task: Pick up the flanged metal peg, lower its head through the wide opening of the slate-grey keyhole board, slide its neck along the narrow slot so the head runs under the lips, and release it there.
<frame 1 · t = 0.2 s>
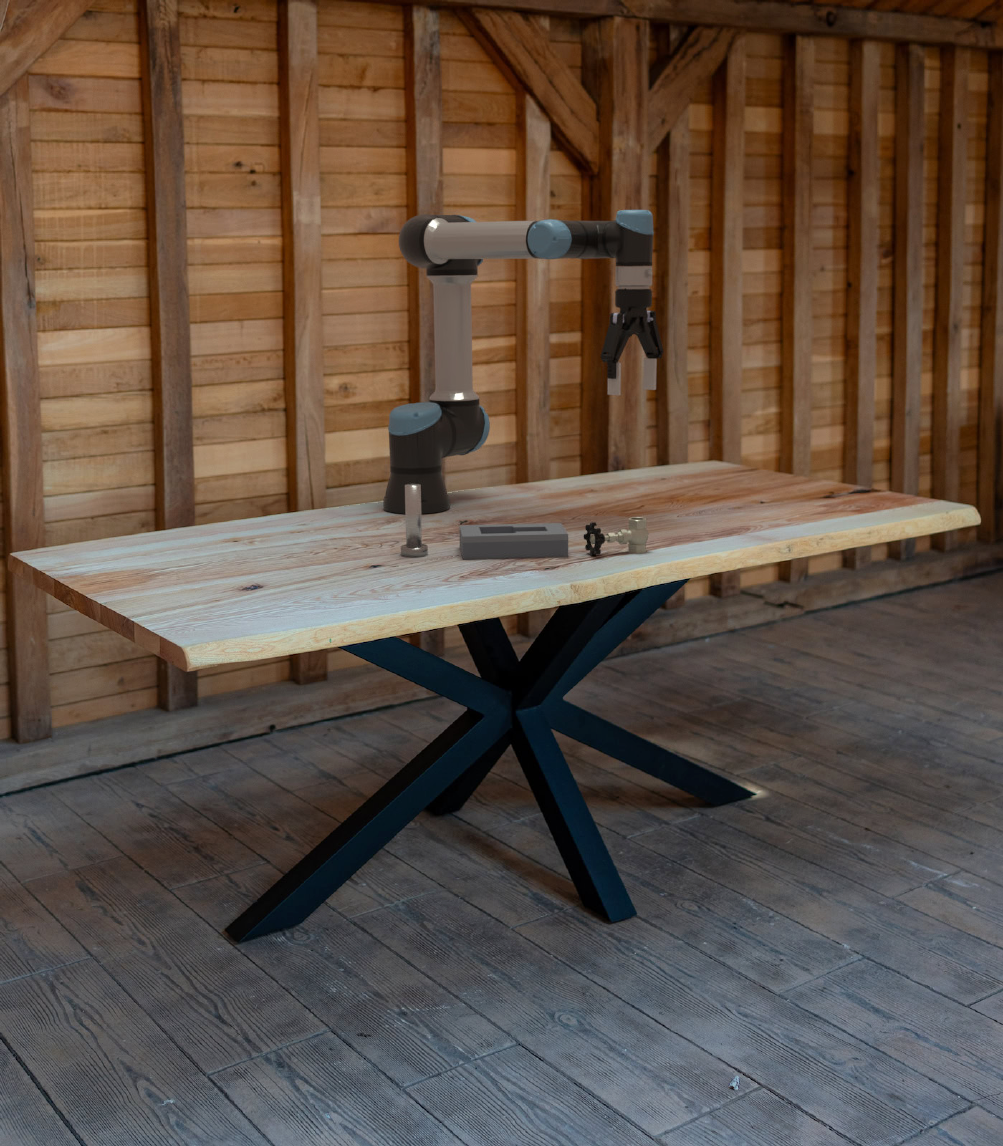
hand: (632, 392, 281), 28 cm above the table, fingers open, 13 cm apart
valve: (618, 554, 259), on the table
keyhole board: (513, 551, 261), on the table
flanged metal peg: (414, 554, 259), on the table
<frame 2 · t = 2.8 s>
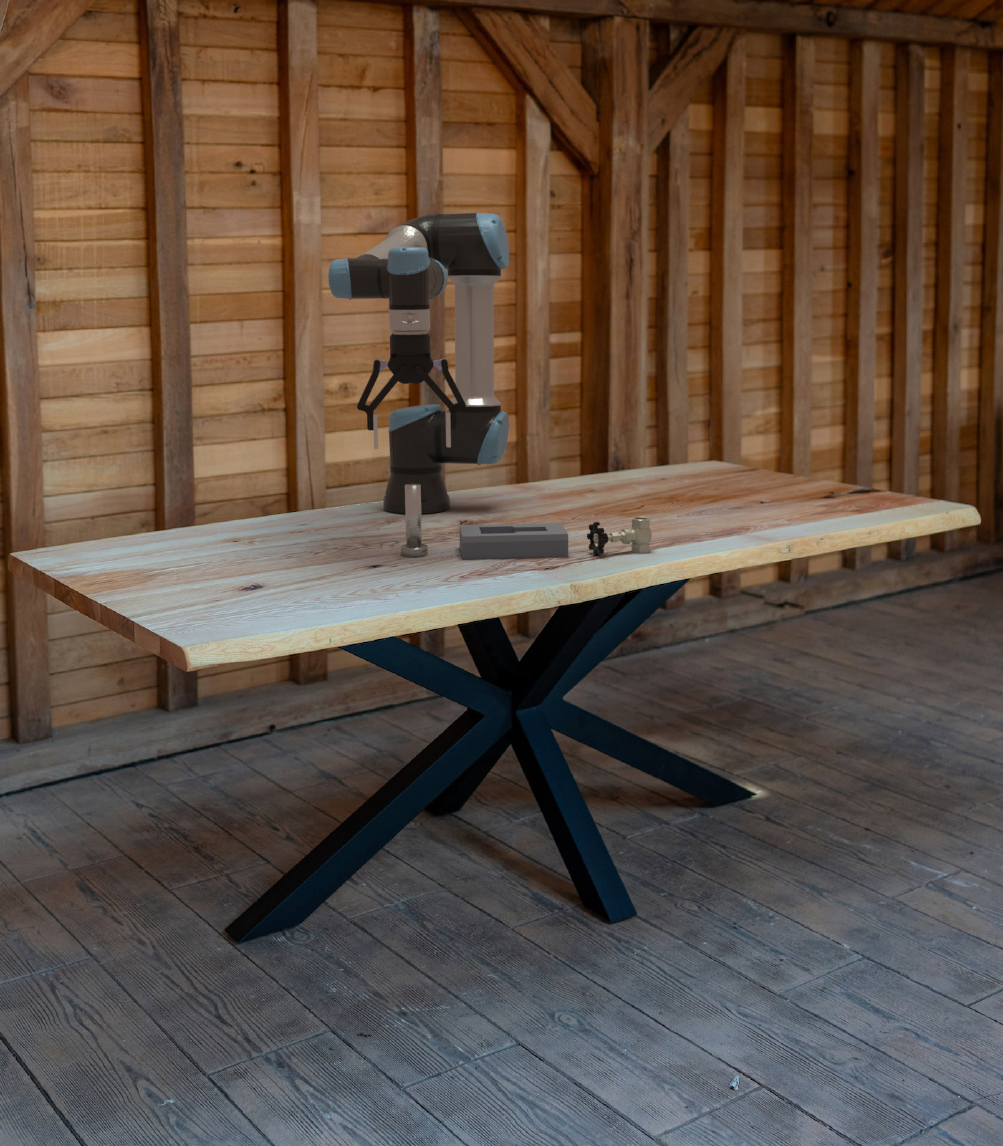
hand: (412, 447, 254), 21 cm above the table, fingers open, 13 cm apart
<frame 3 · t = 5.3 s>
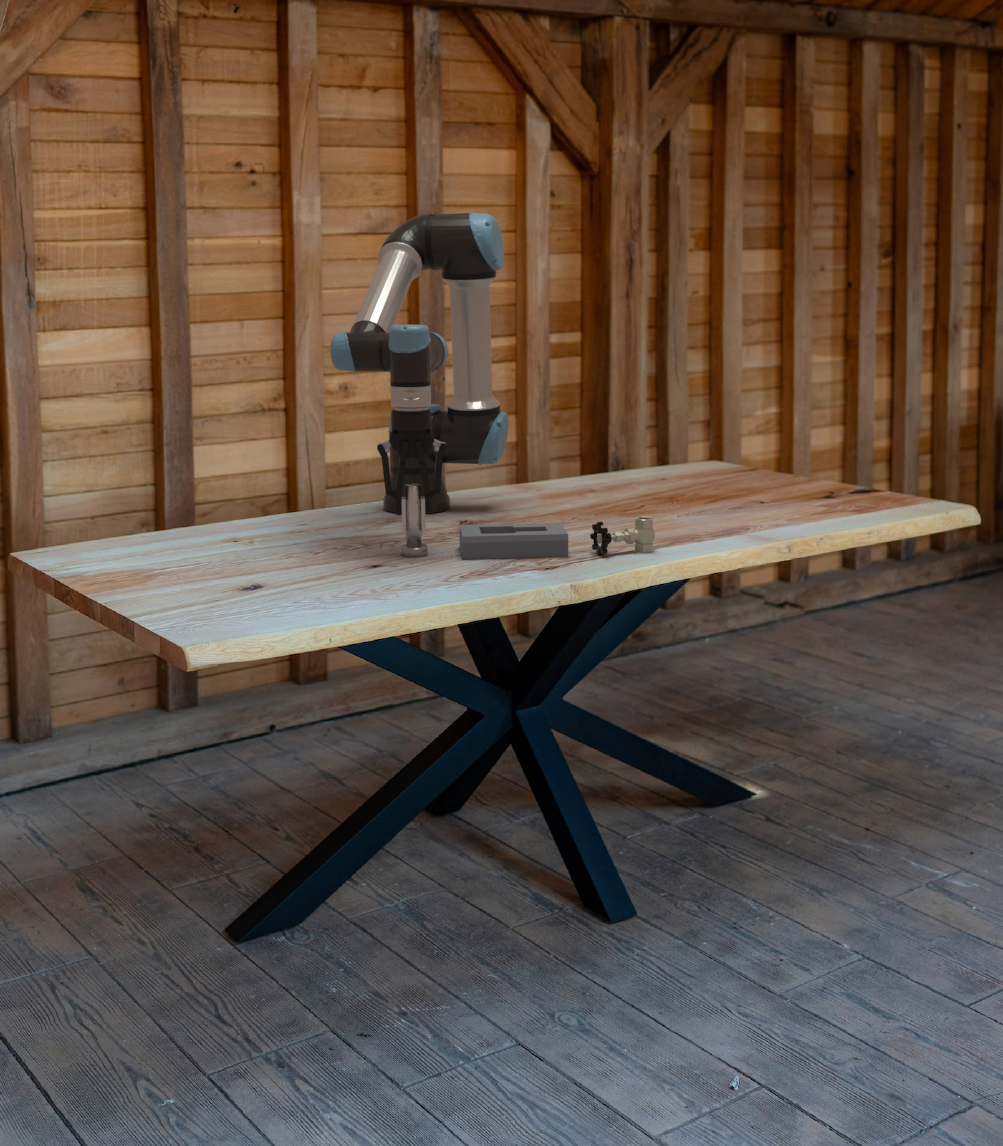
hand: (413, 531, 258), 5 cm above the table, fingers closed on flanged metal peg, 3 cm apart
flanged metal peg: (414, 554, 259), on the table, touching gripper
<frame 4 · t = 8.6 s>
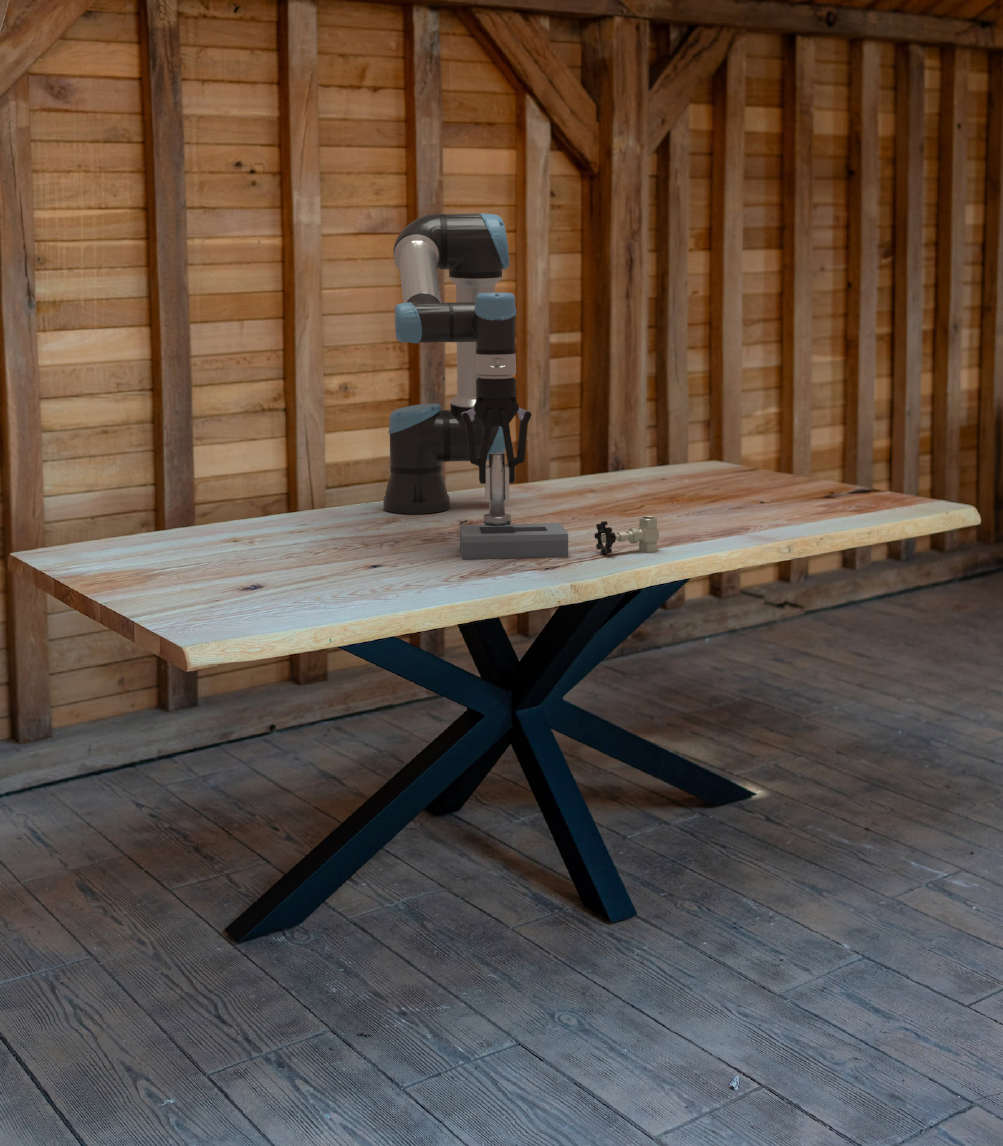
hand: (497, 500, 258), 10 cm above the table, fingers closed on flanged metal peg, 3 cm apart
flanged metal peg: (497, 523, 259), point 6 cm above the table, touching gripper
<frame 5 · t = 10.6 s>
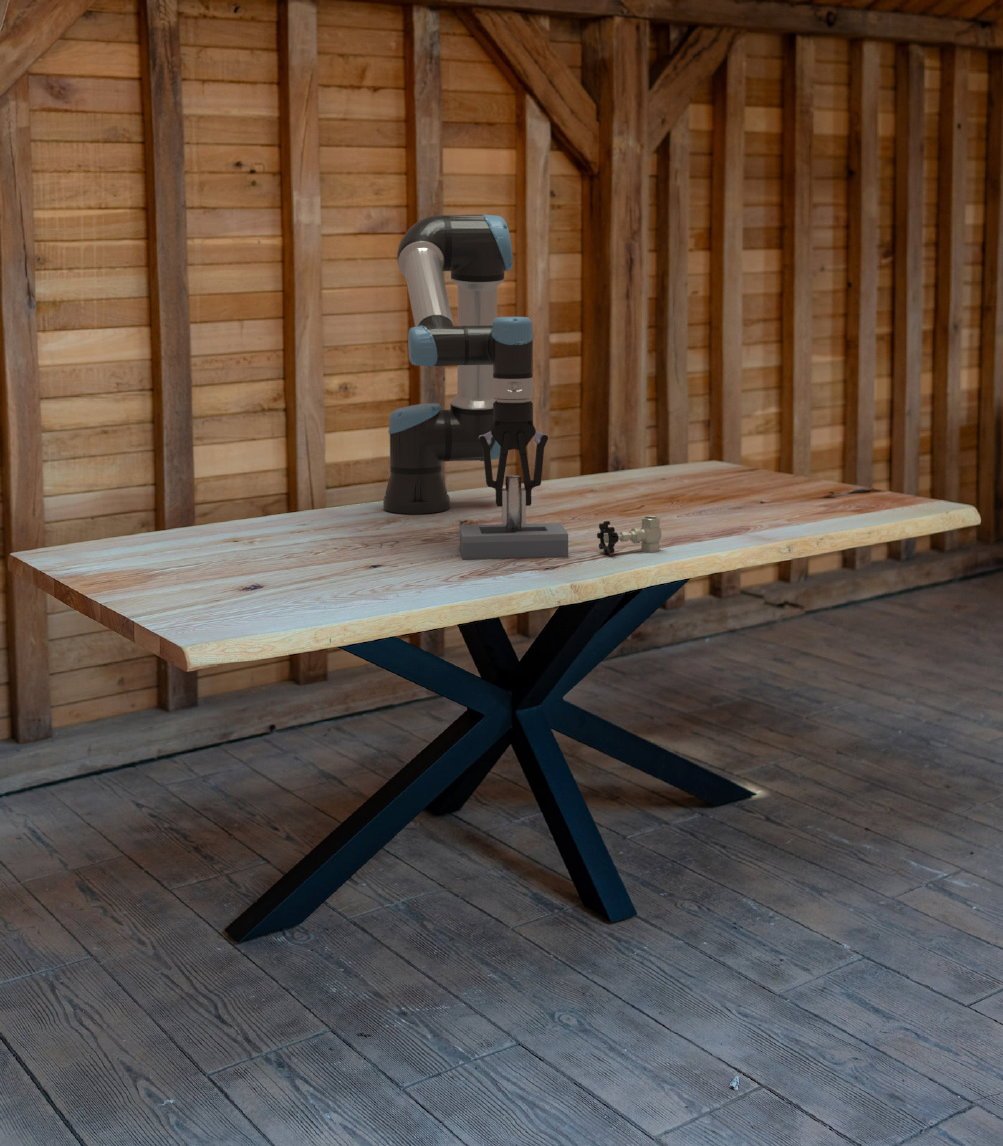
hand: (513, 522, 259), 6 cm above the table, fingers closed on flanged metal peg, 3 cm apart
flanged metal peg: (513, 545, 260), point 1 cm above the table, touching gripper
when the fingers open (6 cm above the table, at t = 12.2 s): flanged metal peg stays where it is, resting on keyhole board.
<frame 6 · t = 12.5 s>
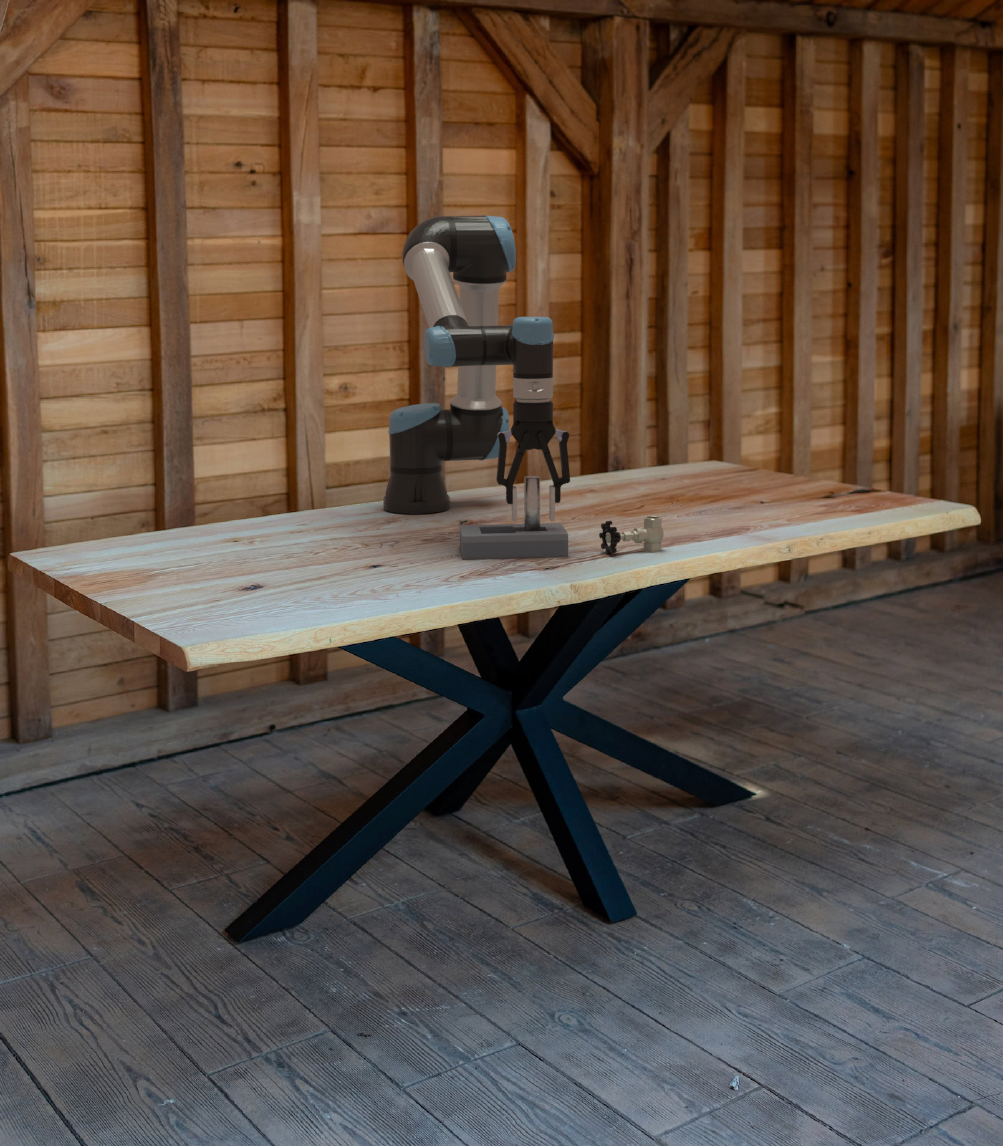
hand: (533, 520, 260), 6 cm above the table, fingers open, 7 cm apart
flanged metal peg: (532, 546, 261), point 1 cm above the table, touching keyhole board
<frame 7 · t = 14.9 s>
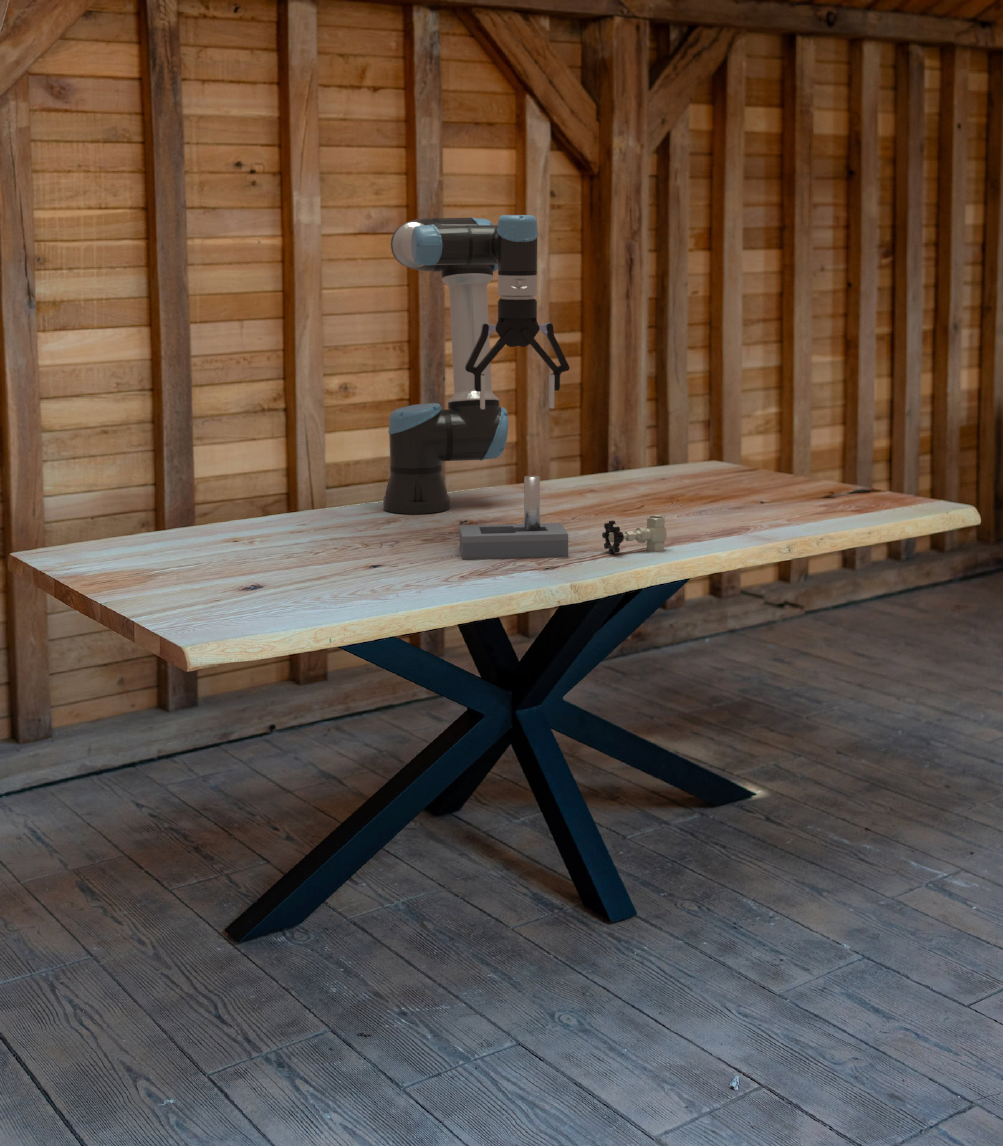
hand: (517, 408, 265), 27 cm above the table, fingers open, 13 cm apart
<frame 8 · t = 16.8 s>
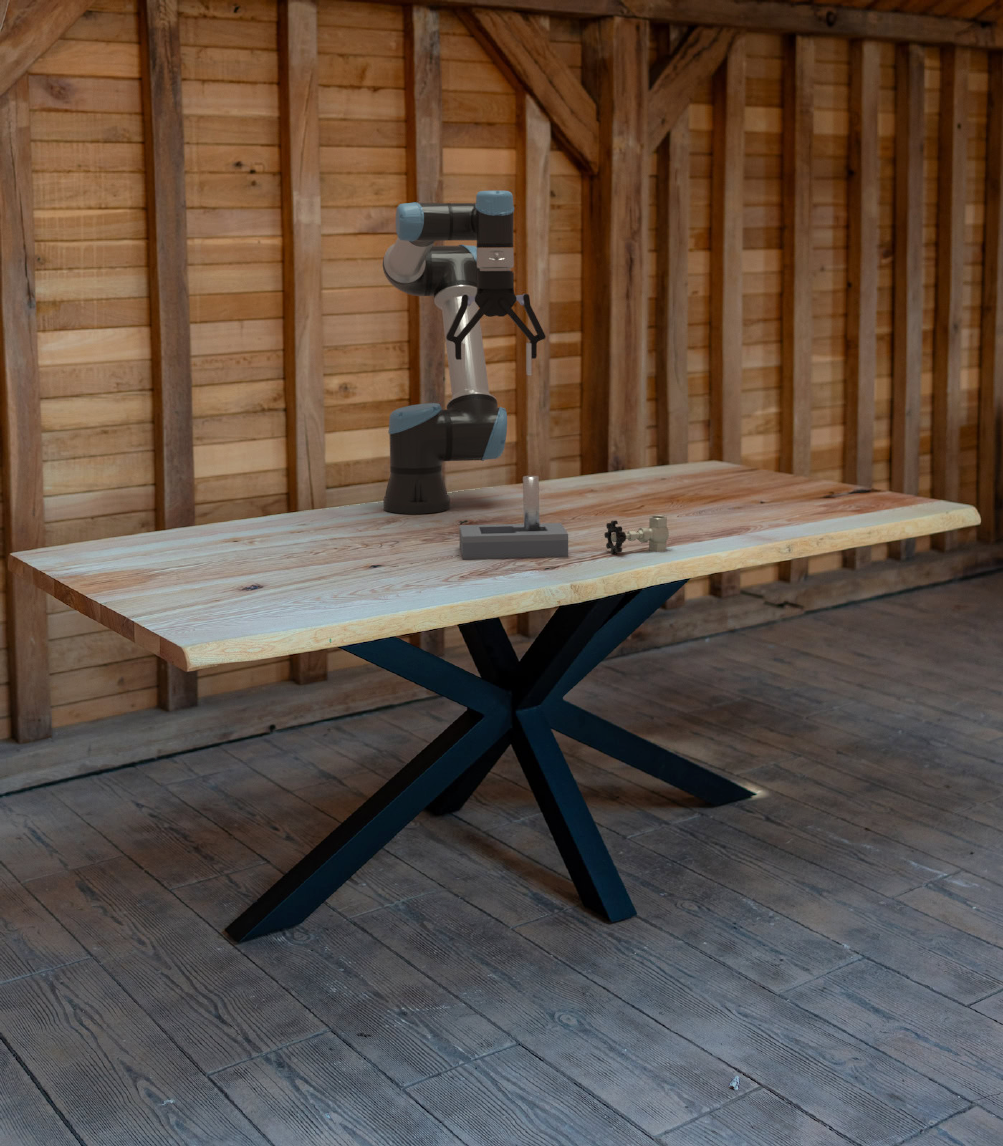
hand: (496, 375, 278), 32 cm above the table, fingers open, 13 cm apart
at the end: flanged metal peg 0.2 cm from the target spot on the keyhole board, point 1.1 cm above the keyhole board's base; flanged metal peg tilted 1°; the gripper is holding nothing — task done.
